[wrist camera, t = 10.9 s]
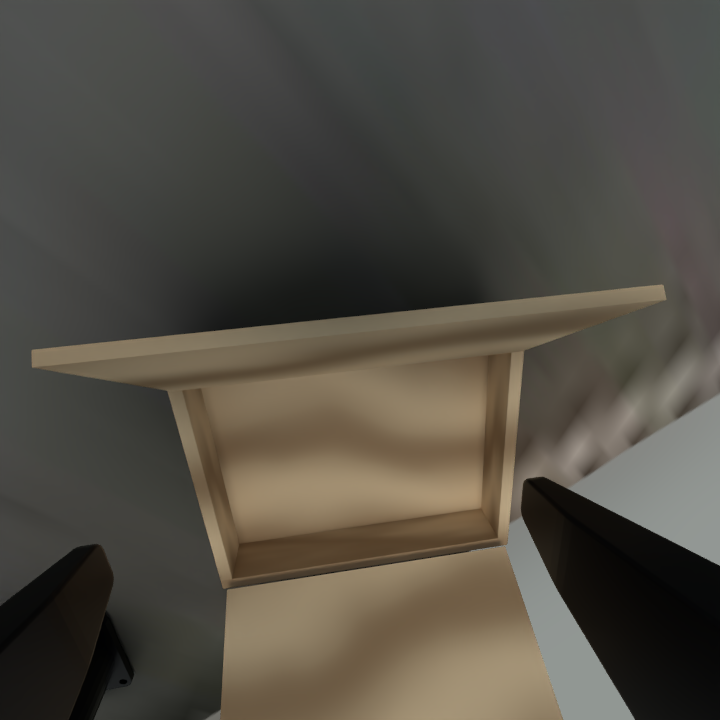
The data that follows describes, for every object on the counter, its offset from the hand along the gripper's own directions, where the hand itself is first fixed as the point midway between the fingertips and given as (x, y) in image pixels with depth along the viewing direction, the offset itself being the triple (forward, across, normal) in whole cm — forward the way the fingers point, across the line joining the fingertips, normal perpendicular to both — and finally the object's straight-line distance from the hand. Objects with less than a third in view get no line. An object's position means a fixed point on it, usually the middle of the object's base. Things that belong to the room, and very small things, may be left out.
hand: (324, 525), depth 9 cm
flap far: (+6, -2, +14) cm, 15 cm away
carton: (+13, -2, +6) cm, 14 cm away
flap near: (+6, -2, -1) cm, 6 cm away
